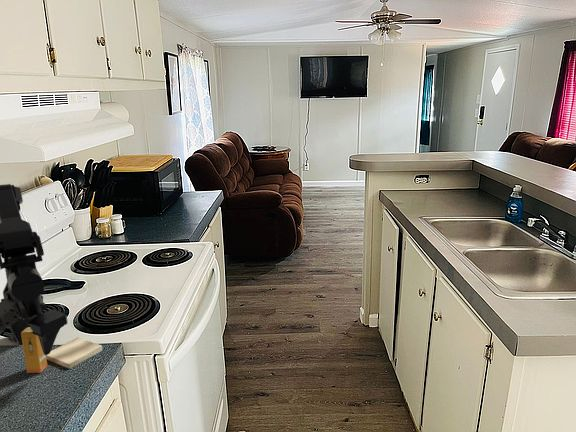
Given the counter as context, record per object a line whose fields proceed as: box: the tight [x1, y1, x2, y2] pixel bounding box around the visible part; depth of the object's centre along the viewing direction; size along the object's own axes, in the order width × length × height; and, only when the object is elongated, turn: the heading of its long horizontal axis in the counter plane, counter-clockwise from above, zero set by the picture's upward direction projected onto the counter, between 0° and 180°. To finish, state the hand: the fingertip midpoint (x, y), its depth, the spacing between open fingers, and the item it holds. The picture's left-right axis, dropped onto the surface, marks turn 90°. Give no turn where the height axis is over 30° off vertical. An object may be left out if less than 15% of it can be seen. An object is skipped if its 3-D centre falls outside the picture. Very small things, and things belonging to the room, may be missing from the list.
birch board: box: [46, 336, 104, 369], centre depth 107 cm, size 9×9×1 cm
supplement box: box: [21, 327, 48, 374], centre depth 100 cm, size 3×3×10 cm
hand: (34, 349), depth 100 cm, fingers open, 9 cm apart
